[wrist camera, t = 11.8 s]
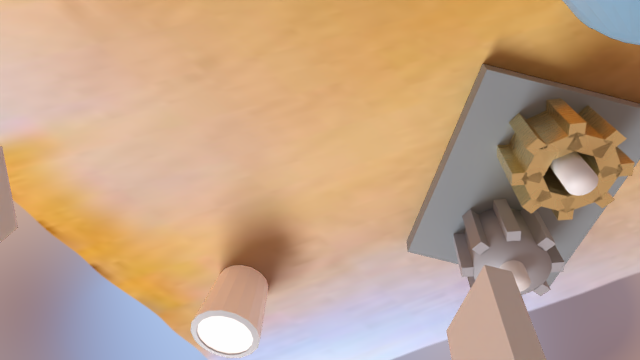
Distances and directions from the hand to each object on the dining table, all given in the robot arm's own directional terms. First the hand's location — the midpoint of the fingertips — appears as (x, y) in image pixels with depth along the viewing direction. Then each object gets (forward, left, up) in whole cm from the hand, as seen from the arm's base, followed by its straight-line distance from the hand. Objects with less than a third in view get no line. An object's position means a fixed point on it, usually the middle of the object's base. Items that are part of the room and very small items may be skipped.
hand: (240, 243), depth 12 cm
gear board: (+8, +19, -25) cm, 32 cm away
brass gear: (+4, +19, -23) cm, 30 cm away
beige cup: (+28, -3, -25) cm, 38 cm away
